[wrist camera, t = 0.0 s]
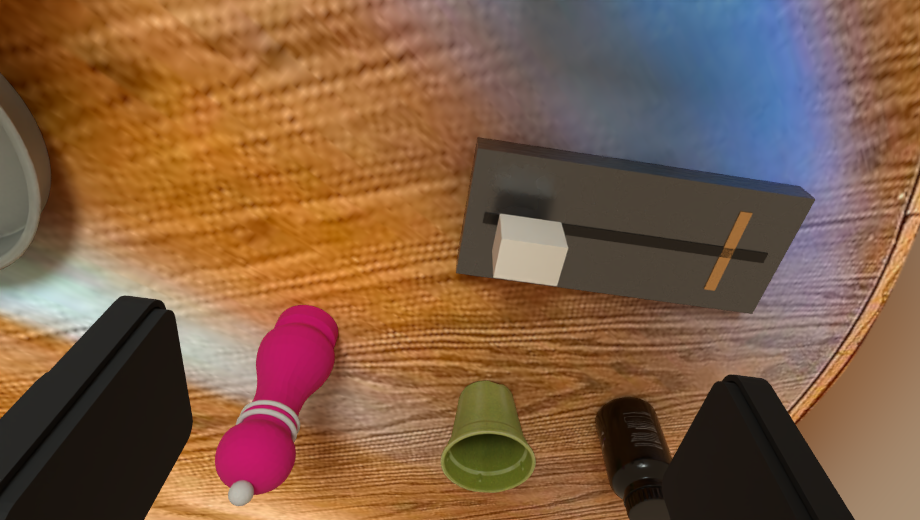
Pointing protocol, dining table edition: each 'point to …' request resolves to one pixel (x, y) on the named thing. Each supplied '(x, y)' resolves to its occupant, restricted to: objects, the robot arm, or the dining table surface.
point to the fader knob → (528, 250)
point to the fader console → (636, 224)
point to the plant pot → (487, 441)
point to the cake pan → (20, 175)
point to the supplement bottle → (634, 456)
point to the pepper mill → (277, 403)
